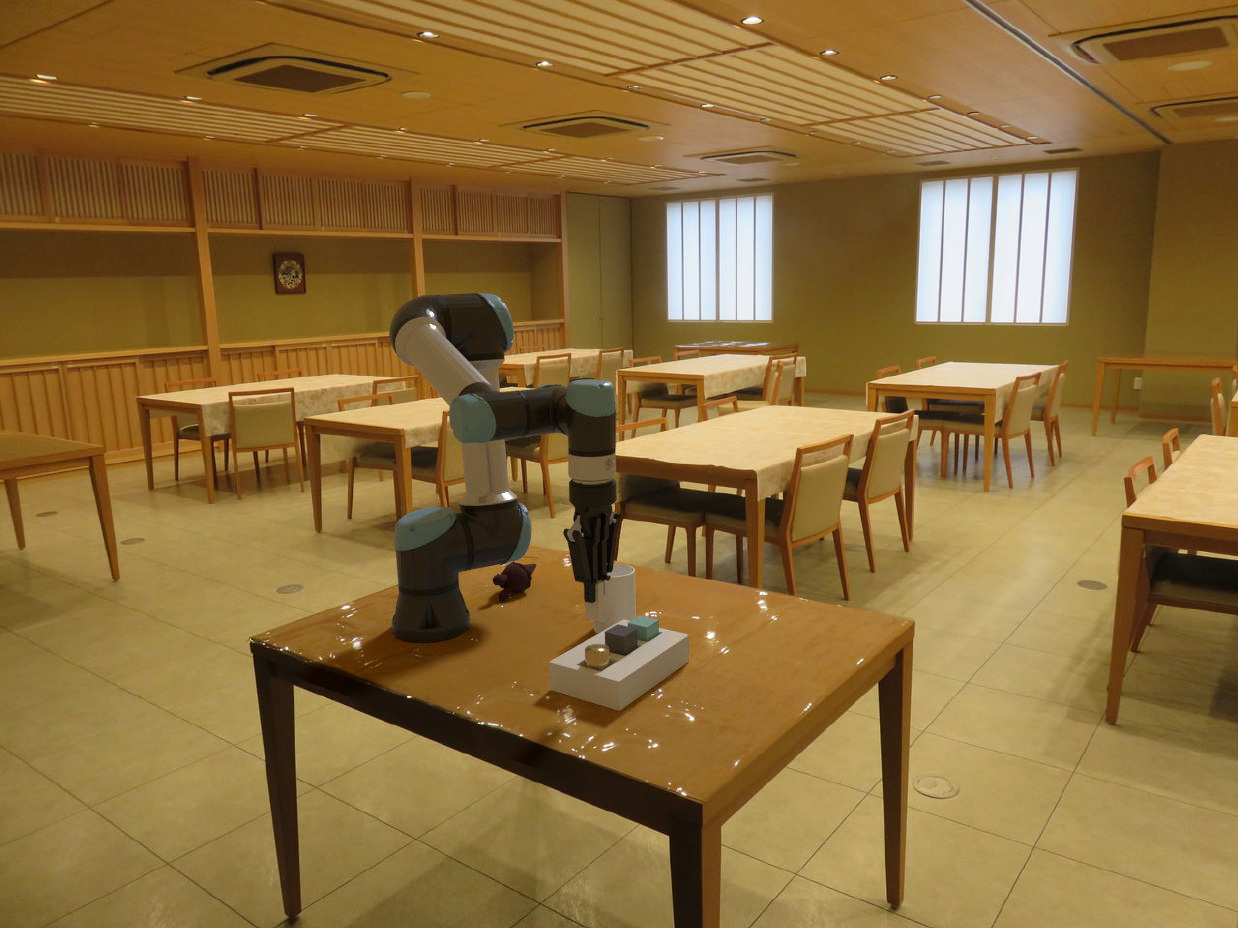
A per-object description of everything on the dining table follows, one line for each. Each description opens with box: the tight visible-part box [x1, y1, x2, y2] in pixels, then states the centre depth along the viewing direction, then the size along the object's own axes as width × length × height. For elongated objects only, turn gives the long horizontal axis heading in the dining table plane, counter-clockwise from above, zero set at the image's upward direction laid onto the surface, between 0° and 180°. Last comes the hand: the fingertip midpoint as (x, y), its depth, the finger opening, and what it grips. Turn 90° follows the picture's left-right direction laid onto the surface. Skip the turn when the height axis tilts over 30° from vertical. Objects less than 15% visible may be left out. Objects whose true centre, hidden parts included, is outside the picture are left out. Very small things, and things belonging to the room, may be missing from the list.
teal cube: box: [628, 615, 660, 642], centre depth 160 cm, size 4×4×4 cm
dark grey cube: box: [605, 624, 638, 656], centre depth 154 cm, size 4×4×4 cm
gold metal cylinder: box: [585, 644, 610, 671], centre depth 149 cm, size 4×4×4 cm
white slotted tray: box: [548, 619, 690, 712], centre depth 155 cm, size 14×22×5 cm, turn 146°
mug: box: [593, 563, 637, 635], centre depth 174 cm, size 12×8×12 cm
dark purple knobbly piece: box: [492, 561, 537, 602], centre depth 197 cm, size 7×7×15 cm
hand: (594, 618), depth 148 cm, fingers closed
